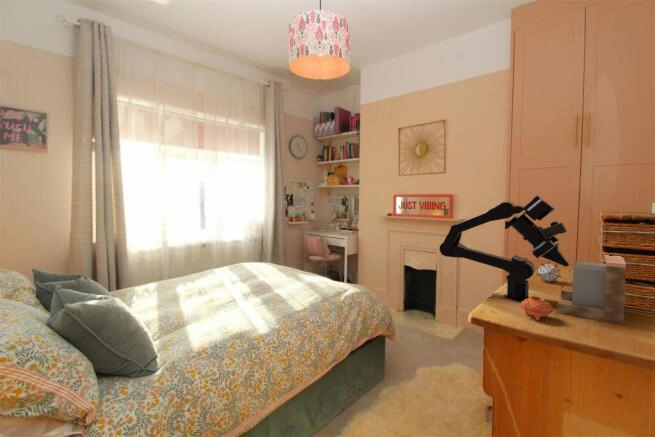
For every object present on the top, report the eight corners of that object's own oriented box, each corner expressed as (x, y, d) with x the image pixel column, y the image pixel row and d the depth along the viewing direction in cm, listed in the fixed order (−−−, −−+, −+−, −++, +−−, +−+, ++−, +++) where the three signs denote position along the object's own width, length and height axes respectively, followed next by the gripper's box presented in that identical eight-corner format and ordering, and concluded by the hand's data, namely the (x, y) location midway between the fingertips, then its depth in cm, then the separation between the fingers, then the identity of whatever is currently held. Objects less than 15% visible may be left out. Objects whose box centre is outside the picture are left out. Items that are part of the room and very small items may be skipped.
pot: (538, 310, 99) (543, 291, 97) (556, 326, 91) (561, 306, 89) (513, 310, 99) (517, 291, 97) (528, 326, 91) (533, 305, 89)
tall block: (571, 312, 98) (573, 267, 97) (573, 302, 106) (574, 261, 105) (610, 318, 92) (612, 271, 91) (609, 308, 100) (611, 264, 100)
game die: (554, 291, 131) (571, 275, 125) (534, 284, 131) (551, 268, 125) (546, 276, 138) (562, 260, 132) (527, 269, 138) (543, 253, 132)
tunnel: (557, 312, 97) (558, 258, 96) (561, 297, 111) (562, 250, 110) (623, 324, 88) (626, 264, 87) (619, 306, 102) (621, 254, 100)
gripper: (546, 215, 97) (591, 254, 91) (552, 212, 112) (591, 246, 105) (516, 239, 103) (556, 277, 97) (525, 233, 117) (561, 266, 111)
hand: (567, 265), depth 102 cm, fingers closed
